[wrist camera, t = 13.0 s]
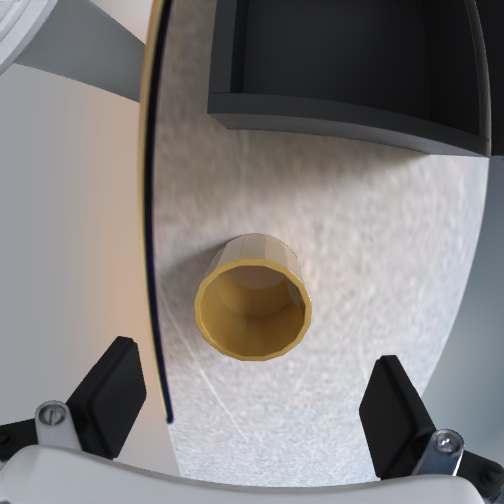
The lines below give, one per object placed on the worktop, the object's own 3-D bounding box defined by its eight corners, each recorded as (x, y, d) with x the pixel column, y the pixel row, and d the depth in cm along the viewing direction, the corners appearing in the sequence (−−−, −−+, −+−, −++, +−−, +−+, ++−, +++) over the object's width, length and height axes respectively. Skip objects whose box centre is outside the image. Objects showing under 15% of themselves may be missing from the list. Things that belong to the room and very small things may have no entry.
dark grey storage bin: (227, 129, 17) (207, 113, 11) (242, -56, 12) (234, -107, 6) (432, 154, 17) (490, 158, 11) (418, -25, 12) (453, -60, 6)
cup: (198, 299, 21) (180, 338, 16) (229, 219, 19) (216, 239, 14) (279, 329, 21) (281, 373, 16) (316, 254, 19) (332, 285, 15)
